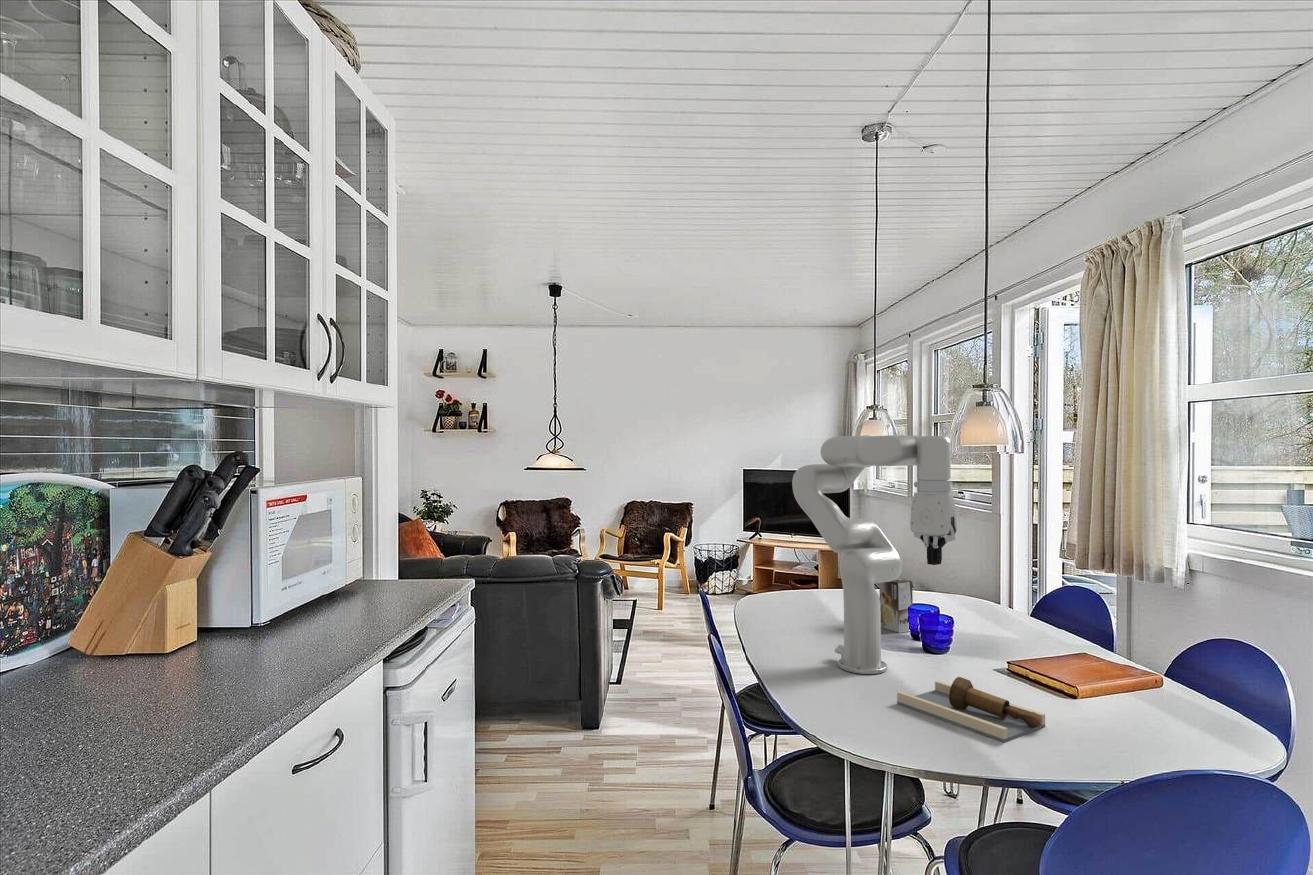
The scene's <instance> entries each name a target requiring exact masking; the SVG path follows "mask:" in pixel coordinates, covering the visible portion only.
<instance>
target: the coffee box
mask: <svg viewBox="0 0 1313 875" xmlns="http://www.w3.org/2000/svg"><path fill="white" fill-rule="evenodd" d="M878 584H879V585H878V586H879V587H878V588H879V599H880V610H881V629H886V630H889V631H892V632H895V633H898V634H901V633H902V634H903V633H907V632H909V624H908V607H909V606H910V605H913V603H914V602H913V596H914V595H913V581H912V580H909V579H903V578H900V577H898V578H897V579H896V580H894V581H890V582H884V583H878Z"/></svg>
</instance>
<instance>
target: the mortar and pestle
mask: <svg viewBox="0 0 1313 875" xmlns="http://www.w3.org/2000/svg"><path fill="white" fill-rule="evenodd" d="M950 685H951V688H950V692H949V702H950V704H951V705H952V706H954V707H957V708H959V709H964V708H966V707H968V706H971V707H974V708H977V709H980V710H982V711H985V712H988V713H990V714H993V715H996V716H998V717H1001V718H1003V719H1005V718H1006V717H1007V716H1008V715H1010V716H1011V717H1013V718H1015V719H1017V718H1020V719H1022V720H1024V722H1025V723H1026V724H1027V725H1029V726H1030V727H1038V726H1040V724H1041V718H1040V716H1039V715H1038V714H1037V713H1035V712H1026V713H1024V712H1021V711H1020V709H1019V708H1014V707H1010V704H1009V703H1010V701H1009V700H1008V699H1004V698H1003V697H1002V698H1001V697H999V696H996V695H993V694H990V693H987V692H985V691H982V690H981V689H980V690H979V689H977V688H974V685H973V684H972V682H971V681H970V680H969V679H967V678H964V677H961V676H957V677H956V678H955V679H954V680H953V681H952V683H951V684H950Z"/></svg>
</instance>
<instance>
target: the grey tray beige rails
mask: <svg viewBox="0 0 1313 875" xmlns="http://www.w3.org/2000/svg"><path fill="white" fill-rule="evenodd" d="M951 685H952V684H950V683H946V682H943V681H940V680H936V681H934V690H930V691H927V692H924V693H920V694H916V695H913V694H908V693H907V692H905V691H904V692H903V691H901V690H900V691H897V693H896V697H897V698H896V703H897V705H900V706H903V707H905V708H908V709H911V710H914V711H916V712H919V713H922V714H924V715H928V716H931V717H933V718H935V719H939V720H940V721H944V722H947V723H950V724H953V725H955V726H958V727H960V728H963V729H965V730H969V731H972V732H975V733H977V734H980V735H983V736H986V737H988V738H990V739H993V740H996V741H999V742H1002V743H1006V742H1009V741H1011V740H1014V739H1016V738H1019V737H1022V736H1025V735H1027V734H1030V733H1032V732H1035V731H1038V730H1040V729H1043V728H1045V727H1046V714H1045V713H1042V712H1039V711H1036V710H1033V709H1030V708H1027V707H1024V706H1020V705H1016V704H1014V703H1011V702H1009V704H1010V707H1014V708H1019V709H1020V711H1021V712H1024V713H1026V712H1035V713H1037V714H1038V715H1039V716H1040V718H1041V724H1040V726H1038V727H1030V726H1029V725H1027V724H1026V723H1025V722H1024V720H1022V719H1020V718H1017V719H1015V718H1013V717H1011V716H1010V715H1008V716H1007V717H1006V718H1005V719H1003V718H1001V717H998V716H996V715H993V714H990V713H988V712H985V711H982V710H980V709H977V708H974V707H971V706H968V707H966V708H964V709H959V708H957V707H954V706H952V705H951V704H950V702H949V692H950V688H951Z"/></svg>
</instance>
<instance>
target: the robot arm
mask: <svg viewBox="0 0 1313 875" xmlns="http://www.w3.org/2000/svg"><path fill="white" fill-rule="evenodd" d="M820 457H821V458H822V460H823V461H824V463H819V464H806V465H803V466H801V467H799V468H798V469H797V470H796V471H795V472H794V474H793V477H792V482H791V483H792V484H791V486H792V487H791V488H792V493H793V496H794V498H795V500H796V502H797V504H798V506H799V507H800V508H801V509H802V510H803V511H802V512H804V513H805V514H806V515H807V516H808V518H809V520H811V522H812V523H813V525H814V526H815V528H816V529H817V531H818V532H819V534H820V535H821V537H822V538H823V541H825V543H826V545H827V546H828V547H829V548H830V550H832V551H833V553H835V554H836V553H837V554H843V555H842V556H841V559H840V560H839V574H840V577H841V578H840V579H841V582H842V591H843V644H837V647H835V648H834V653H835V654H838V655H839V654H840V657H841V658H840V659H839V660H838V661H837V663H838V664H837V665H838V667H839V668H840V669H842V670H843V671H845V672H850V673H854V674H860V675H877V674H881V673H885V672H886V671H887V670H888V664H887V663H886V662H885V661H883V660H882V642H881V641H882V638H881V637H882V632H881V631H882V627H881V610H880V595H879V593H878V592H877V590H876V588H875V584H879V583H884V582H890V581H894V580H896V579H897V578H900V576H901V575H902V573H903V561H902V558H901V557H900V555H899V552H898V551H897V550H896V548H895V547H894V545H892V543H891V541H889V539H888V537H887V536H886V535H885V533H884V532H883V531H882V529H881V528H880V527H879V526H878V525H877V523H875V522H874V521H872V520H870V519H868V518H865V517H863V518H862V517H859V518H851V517H848V516H846V515H845V514H844V512H843V511H842V510H841V508H840V507H839V506H838V504H837V503H835V502H834V501H833V500H832V499H830V498H829V497H827V496H826V495H825V494H835V493H837V494H838V493H839V494H840V493H842V492H845V491H847V490H848V489H849V488H850V487H851V486H852V485H853V483H854V482H855V481H856V480H857V478H858V477H859V476H860V474H862V472H863V470H865V468H869V467H870V468H871V467H875V466H876V467H899V466H900V467H901V466H902V467H903V466H904V467H905V466H906V467H908V466H910V467H911V466H914V467H915V466H916V481H914V482H913V486H914V487H915V488H916V492H914V493H913V497H912V501H911V506H910V508H911V509H910V520H909V521H910V523H909V525H910V531H911V532H912V533H913V537H914V538H917V539H918V540H921V541H922V542H923V545H924V547H925V548H926V564H927V565H932V566H937V565H938V566H939V565H941V564H942V560H943V551H942V550H943V549H944V547H945V545H946V544H947V543H950V542H955V541H956V533H957V530H958V528H957V527H958V526H957V525H958V523H957V522H958V521H957V511H956V508H957V507H956V502H955V498H954V494H953V493H952V492H951V491H952V489H951V486H952V485H951V484H952V483H951V481H952V480H951V478H952V477H951V473H952V472H951V470H952V469H951V440H950V438H949V437H947V436H945V435H944V436H943V435H908V434H907V435H903V434H902V435H901V434H900V435H899V434H895V435H868V434H867V435H866V434H865V435H864V434H863V435H849V436H848V435H845V436H842V435H841V436H833V437H831V438H828V439H826V440H825V441H824V442H823V443H822V445H821V447H820ZM942 548H943V549H942Z"/></svg>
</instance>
